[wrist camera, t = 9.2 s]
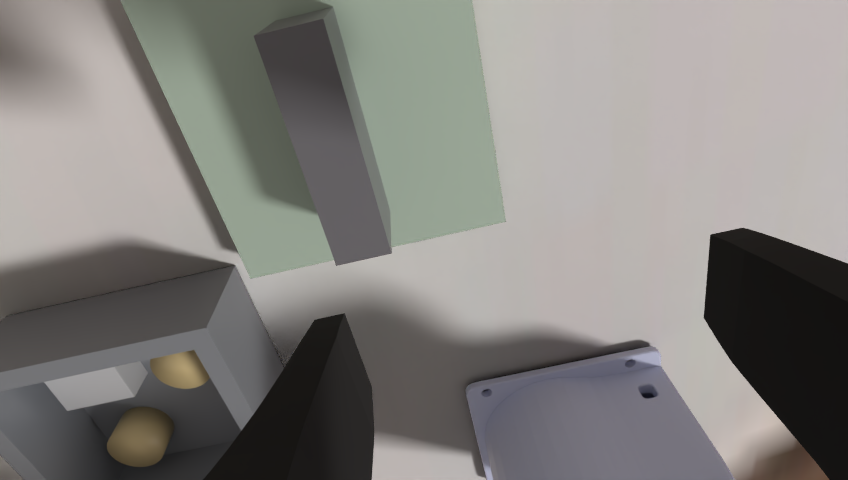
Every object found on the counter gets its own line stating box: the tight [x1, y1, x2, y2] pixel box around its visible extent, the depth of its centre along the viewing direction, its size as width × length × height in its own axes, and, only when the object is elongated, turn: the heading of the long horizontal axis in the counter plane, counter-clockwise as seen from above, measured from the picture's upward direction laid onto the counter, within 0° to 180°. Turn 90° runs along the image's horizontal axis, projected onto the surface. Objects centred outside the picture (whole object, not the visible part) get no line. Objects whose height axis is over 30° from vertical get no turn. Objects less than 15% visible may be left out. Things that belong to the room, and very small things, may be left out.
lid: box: [120, 0, 506, 279], centre depth 17 cm, size 10×10×5 cm
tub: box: [0, 266, 284, 480], centre depth 22 cm, size 10×10×4 cm
